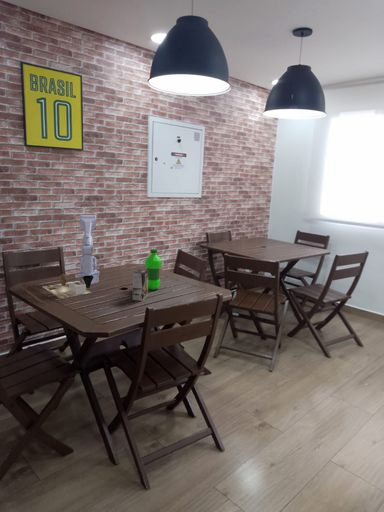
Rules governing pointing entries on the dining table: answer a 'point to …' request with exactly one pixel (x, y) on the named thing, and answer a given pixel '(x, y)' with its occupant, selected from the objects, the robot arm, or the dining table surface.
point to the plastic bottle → (153, 269)
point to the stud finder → (77, 287)
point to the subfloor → (62, 290)
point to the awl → (63, 279)
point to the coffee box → (140, 284)
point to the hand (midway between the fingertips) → (87, 287)
